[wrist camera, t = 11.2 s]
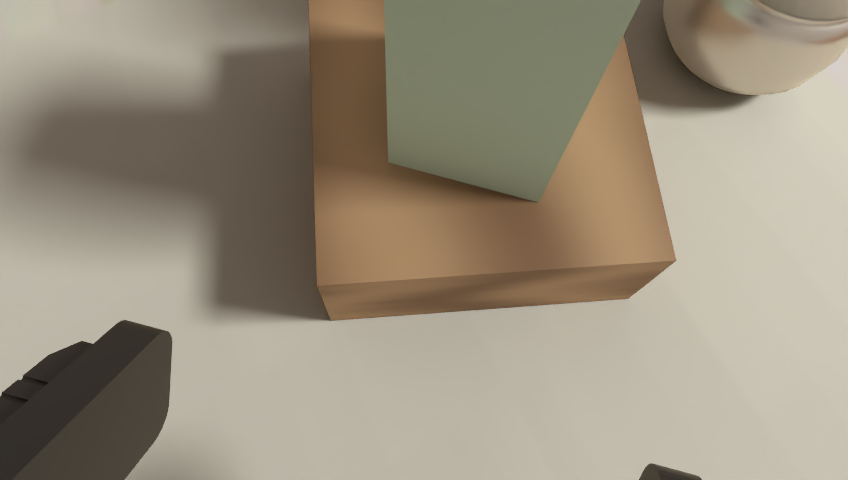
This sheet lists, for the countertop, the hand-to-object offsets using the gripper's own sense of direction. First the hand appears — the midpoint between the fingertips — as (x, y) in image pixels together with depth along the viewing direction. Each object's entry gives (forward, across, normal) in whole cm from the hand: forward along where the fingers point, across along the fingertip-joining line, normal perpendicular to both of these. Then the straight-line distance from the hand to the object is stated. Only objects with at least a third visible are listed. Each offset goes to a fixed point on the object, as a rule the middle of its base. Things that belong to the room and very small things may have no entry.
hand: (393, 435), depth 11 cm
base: (+14, 0, 0) cm, 14 cm away
